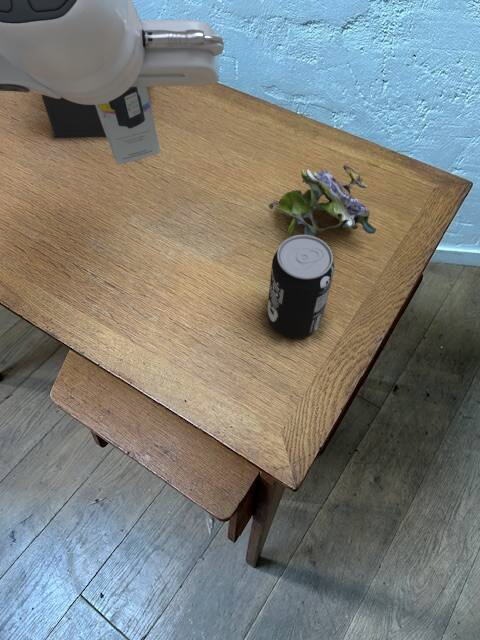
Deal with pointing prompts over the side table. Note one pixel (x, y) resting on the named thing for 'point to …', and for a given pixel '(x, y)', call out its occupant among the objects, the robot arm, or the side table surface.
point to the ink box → (130, 125)
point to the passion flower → (337, 206)
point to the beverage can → (299, 286)
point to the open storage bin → (73, 118)
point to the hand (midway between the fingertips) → (114, 78)
